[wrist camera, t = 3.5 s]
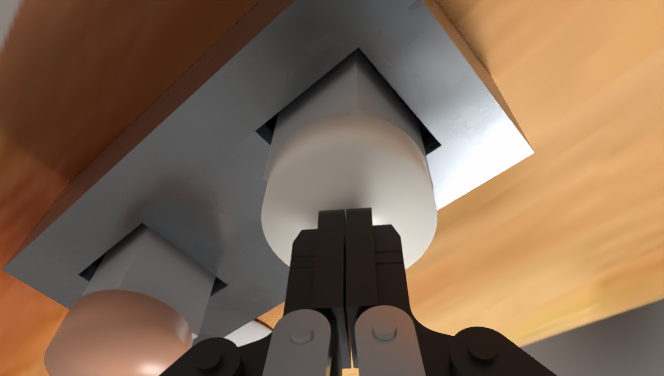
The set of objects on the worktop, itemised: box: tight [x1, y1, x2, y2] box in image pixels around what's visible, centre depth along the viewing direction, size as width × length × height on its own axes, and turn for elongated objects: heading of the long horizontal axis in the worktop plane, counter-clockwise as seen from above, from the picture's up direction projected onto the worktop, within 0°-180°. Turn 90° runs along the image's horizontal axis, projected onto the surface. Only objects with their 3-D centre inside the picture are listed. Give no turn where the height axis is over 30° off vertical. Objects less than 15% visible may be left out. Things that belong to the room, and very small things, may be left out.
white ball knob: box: [261, 49, 437, 269], centre depth 18 cm, size 5×5×7 cm
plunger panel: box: [2, 0, 534, 346], centre depth 24 cm, size 10×22×7 cm, turn 131°
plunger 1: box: [44, 223, 216, 376], centre depth 23 cm, size 5×5×7 cm
